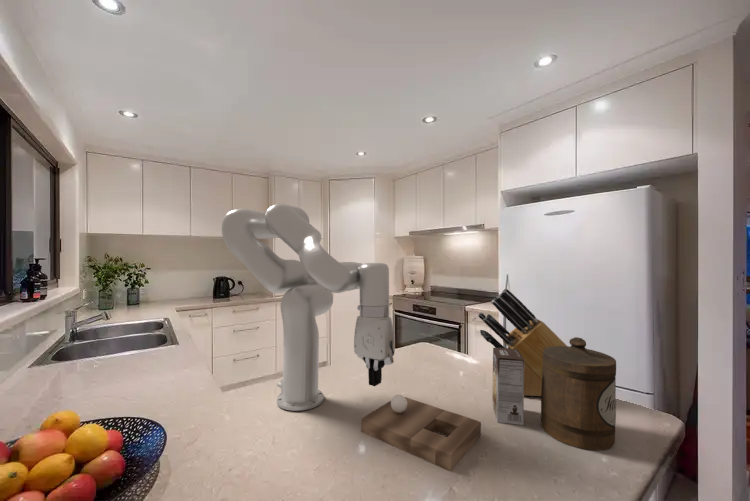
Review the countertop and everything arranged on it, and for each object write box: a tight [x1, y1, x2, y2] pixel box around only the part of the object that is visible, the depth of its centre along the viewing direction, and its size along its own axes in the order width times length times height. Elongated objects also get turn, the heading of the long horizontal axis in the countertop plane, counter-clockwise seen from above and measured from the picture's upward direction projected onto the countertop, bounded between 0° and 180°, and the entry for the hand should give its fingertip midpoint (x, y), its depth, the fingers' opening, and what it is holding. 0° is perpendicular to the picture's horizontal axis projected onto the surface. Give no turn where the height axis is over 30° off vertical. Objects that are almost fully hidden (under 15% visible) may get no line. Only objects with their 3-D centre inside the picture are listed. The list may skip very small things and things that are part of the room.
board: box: [360, 396, 482, 472], centre depth 76 cm, size 22×16×3 cm
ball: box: [390, 394, 407, 413], centre depth 80 cm, size 4×4×4 cm
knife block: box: [477, 288, 568, 397], centre depth 101 cm, size 11×35×31 cm, turn 82°
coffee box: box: [492, 347, 525, 426], centre depth 85 cm, size 9×6×16 cm
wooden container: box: [540, 336, 617, 451], centre depth 78 cm, size 15×15×22 cm
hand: (375, 383), depth 84 cm, fingers closed
